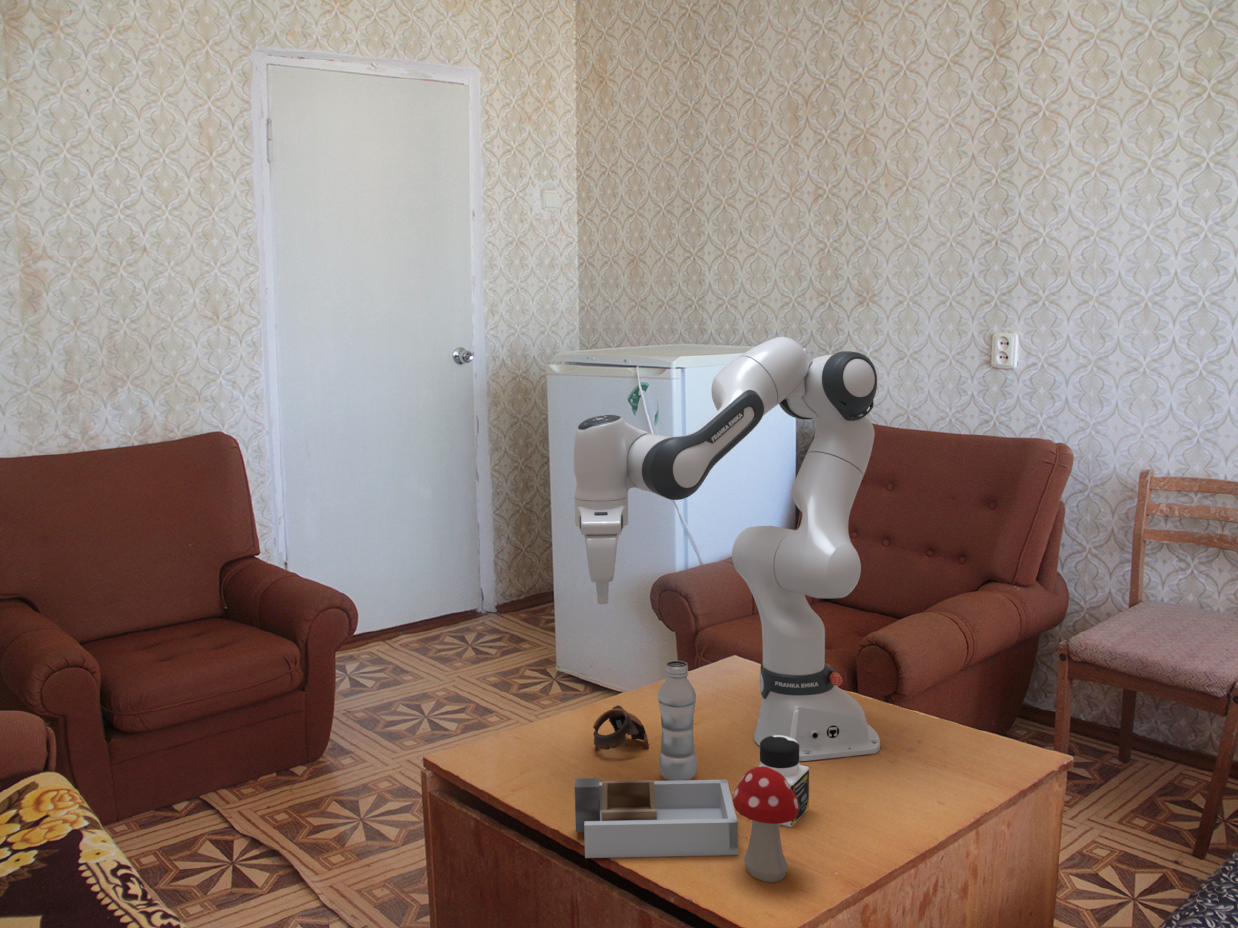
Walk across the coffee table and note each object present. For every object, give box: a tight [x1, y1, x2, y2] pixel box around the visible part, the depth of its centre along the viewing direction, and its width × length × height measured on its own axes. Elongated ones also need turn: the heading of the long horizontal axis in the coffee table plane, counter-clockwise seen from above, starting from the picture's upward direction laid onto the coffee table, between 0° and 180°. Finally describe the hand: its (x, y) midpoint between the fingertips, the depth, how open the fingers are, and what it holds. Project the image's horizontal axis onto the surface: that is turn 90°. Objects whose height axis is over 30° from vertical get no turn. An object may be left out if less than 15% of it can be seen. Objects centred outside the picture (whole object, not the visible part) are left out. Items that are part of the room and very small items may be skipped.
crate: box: [574, 777, 657, 833], centre depth 155 cm, size 12×10×7 cm
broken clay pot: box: [592, 704, 650, 751], centre depth 188 cm, size 12×10×8 cm
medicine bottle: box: [757, 735, 810, 828], centre depth 161 cm, size 7×7×12 cm
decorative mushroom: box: [732, 766, 799, 883], centre depth 144 cm, size 10×9×15 cm
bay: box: [583, 779, 739, 859], centre depth 156 cm, size 22×14×5 cm, turn 90°
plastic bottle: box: [657, 660, 698, 781], centre depth 173 cm, size 6×7×20 cm
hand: (603, 595), depth 173 cm, fingers open, 8 cm apart
